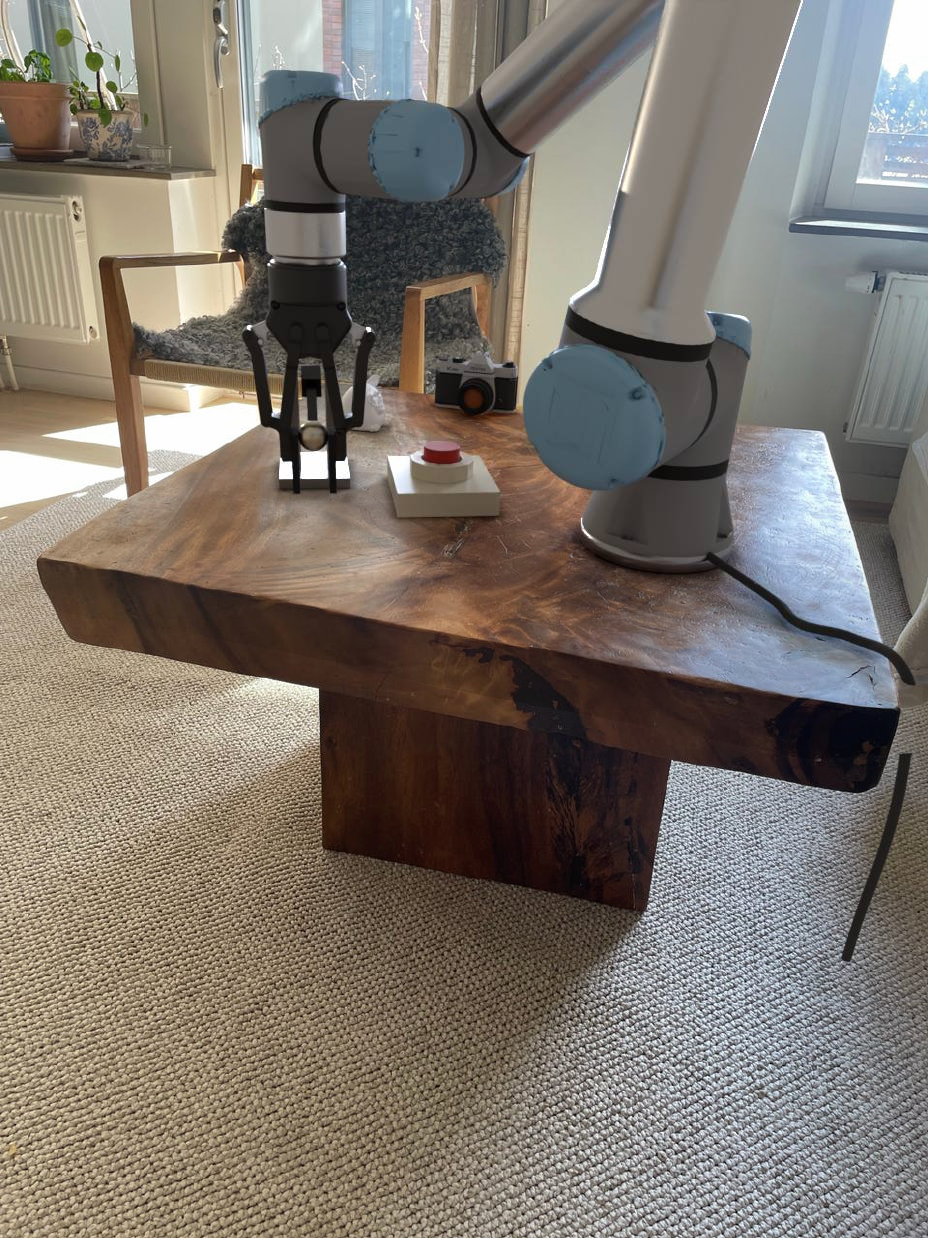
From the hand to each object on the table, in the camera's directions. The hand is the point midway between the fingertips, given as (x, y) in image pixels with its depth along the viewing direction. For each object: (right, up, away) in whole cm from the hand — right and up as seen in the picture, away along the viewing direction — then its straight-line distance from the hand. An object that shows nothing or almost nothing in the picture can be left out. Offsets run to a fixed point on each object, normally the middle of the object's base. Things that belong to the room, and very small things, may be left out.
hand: (315, 489), depth 97 cm
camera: (+18, +17, +38) cm, 45 cm away
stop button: (+14, +3, +2) cm, 14 cm away
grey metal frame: (-2, +3, +9) cm, 9 cm away
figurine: (+2, +13, +28) cm, 31 cm away
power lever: (-1, +8, +1) cm, 8 cm away
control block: (+14, 0, +4) cm, 14 cm away
